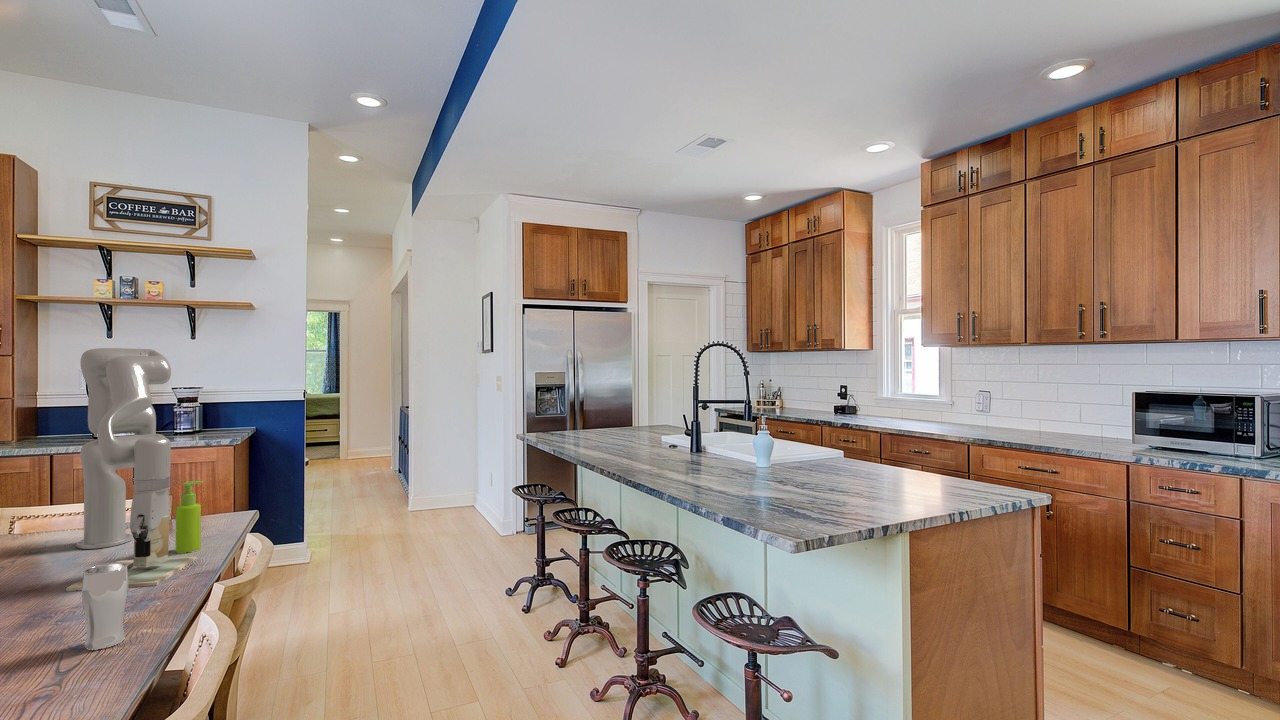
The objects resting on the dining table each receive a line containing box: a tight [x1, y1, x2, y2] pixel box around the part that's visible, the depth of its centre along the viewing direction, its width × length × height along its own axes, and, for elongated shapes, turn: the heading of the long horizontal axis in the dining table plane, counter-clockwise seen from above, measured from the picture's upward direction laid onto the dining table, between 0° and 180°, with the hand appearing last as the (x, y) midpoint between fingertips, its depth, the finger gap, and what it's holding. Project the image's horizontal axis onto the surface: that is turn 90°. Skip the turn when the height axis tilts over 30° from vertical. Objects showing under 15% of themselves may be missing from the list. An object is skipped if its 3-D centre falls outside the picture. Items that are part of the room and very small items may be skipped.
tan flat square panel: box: [65, 556, 197, 592], centre depth 159 cm, size 20×19×1 cm
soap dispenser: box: [175, 480, 205, 554], centre depth 179 cm, size 6×7×20 cm
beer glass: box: [81, 562, 129, 649], centre depth 120 cm, size 7×7×15 cm
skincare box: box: [132, 516, 170, 568], centre depth 160 cm, size 6×4×12 cm
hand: (151, 551), depth 160 cm, fingers closed on skincare box, 7 cm apart
